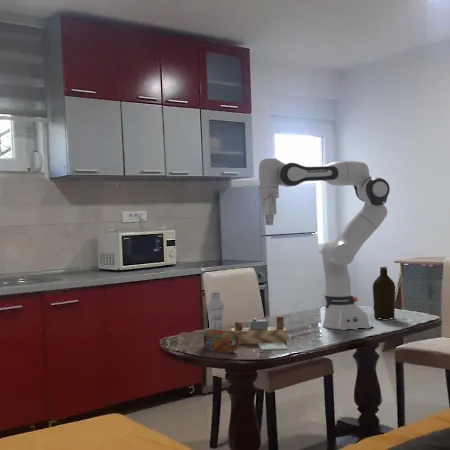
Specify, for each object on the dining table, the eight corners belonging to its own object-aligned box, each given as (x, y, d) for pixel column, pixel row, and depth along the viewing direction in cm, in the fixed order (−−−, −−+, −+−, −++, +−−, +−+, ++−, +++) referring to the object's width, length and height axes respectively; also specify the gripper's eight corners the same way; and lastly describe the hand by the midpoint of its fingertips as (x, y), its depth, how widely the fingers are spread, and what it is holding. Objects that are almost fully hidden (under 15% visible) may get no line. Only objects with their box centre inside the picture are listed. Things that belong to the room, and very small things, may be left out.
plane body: (283, 338, 241) (283, 314, 241) (286, 342, 234) (286, 317, 234) (230, 340, 239) (230, 316, 239) (232, 344, 232) (231, 319, 232)
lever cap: (266, 327, 239) (265, 317, 239) (267, 329, 234) (267, 319, 234) (249, 328, 238) (248, 317, 238) (250, 330, 234) (250, 319, 234)
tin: (203, 350, 223) (202, 328, 223) (208, 348, 226) (207, 326, 226) (236, 354, 215) (235, 332, 215) (240, 353, 217) (240, 330, 217)
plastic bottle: (228, 341, 237) (227, 292, 236) (216, 344, 231) (215, 294, 231) (216, 339, 241) (215, 291, 240) (205, 342, 236) (204, 293, 235)
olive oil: (399, 318, 282) (399, 266, 281) (388, 321, 275) (387, 268, 274) (380, 315, 290) (380, 265, 289) (368, 318, 282) (368, 267, 282)
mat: (282, 343, 231) (282, 342, 231) (287, 349, 221) (287, 347, 221) (257, 344, 230) (257, 343, 230) (261, 350, 220) (261, 348, 220)
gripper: (279, 193, 250) (280, 225, 250) (272, 195, 270) (272, 224, 270) (265, 193, 249) (265, 225, 250) (259, 195, 270) (259, 224, 270)
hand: (269, 225), depth 260 cm, fingers open, 8 cm apart
